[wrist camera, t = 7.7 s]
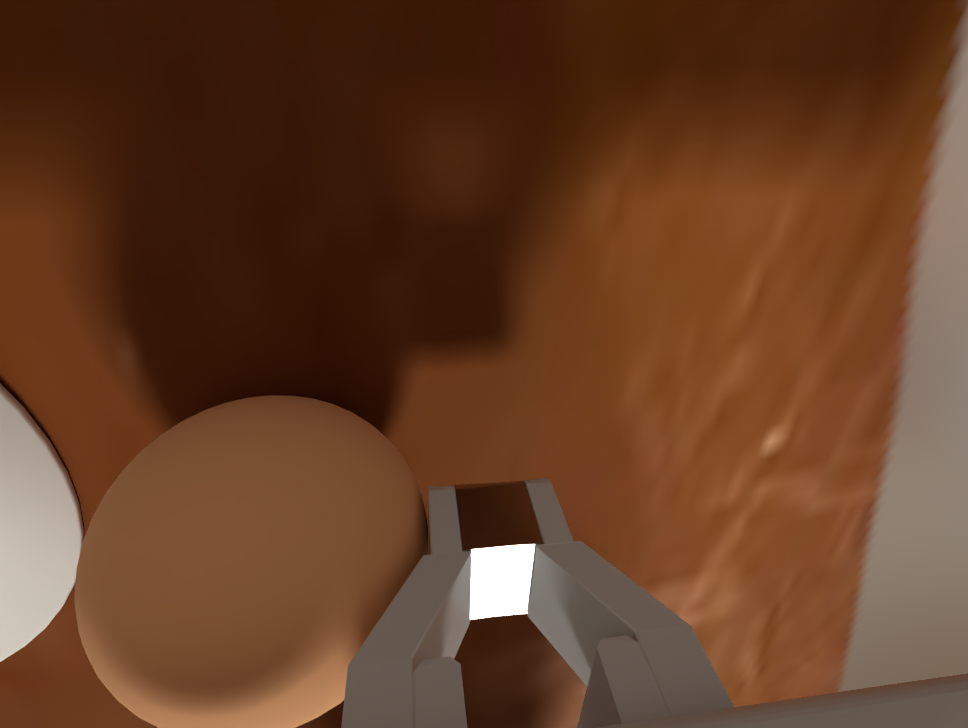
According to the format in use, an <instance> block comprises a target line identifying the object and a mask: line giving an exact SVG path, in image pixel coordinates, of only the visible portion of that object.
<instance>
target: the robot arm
mask: <svg viewBox="0 0 968 728" xmlns="http://www.w3.org/2000/svg"><path fill="white" fill-rule="evenodd" d="M428 518H429V555H423V556H422V558H421V559H420V561H419V562H418V564H417V565H416V567H415V568H414V570H413V571H412V573H411V574H410V575H409V577H408V578H407V580H406V581H405V583H404V584H403V586H402V587H401V589H400V590H399V592H398V593H397V595H396V596H395V597H394V599H393V600H392V602H391V603H390V605H389V606H388V608H387V609H386V611H385V612H384V614H383V615H382V617H381V618H380V619H379V621H378V622H377V624H376V625H375V627H374V628H373V630H372V631H371V633H370V634H369V636H368V637H367V639H366V640H365V641H364V643H363V644H362V646H361V647H360V649H359V650H358V652H357V653H356V655H355V656H354V658H353V659H352V661H351V662H350V663H349V665H348V670H347V679H346V688H345V698H344V707H343V716H342V725H341V728H467V719H466V710H465V701H464V691H463V682H462V672H461V664H460V663H459V662H457V661H456V660H454V658H455V656H456V654H457V651H458V649H459V647H460V644H461V642H462V640H463V638H464V635H465V633H466V631H467V628H468V626H469V624H470V620H474V619H481V618H488V617H495V616H506V615H518V614H528V617H529V618H530V619H531V621H532V622H533V623H534V624H535V625H536V627H537V628H538V629H539V630H540V631H541V633H542V634H543V635H544V636H545V637H546V638H547V640H548V641H549V642H550V643H551V644H552V646H553V647H554V648H555V649H556V650H557V652H558V653H559V654H560V655H561V656H562V657H563V659H564V660H565V661H566V662H567V663H568V665H569V666H570V667H571V668H572V669H573V671H574V672H575V673H576V674H577V675H578V677H579V678H580V679H581V680H582V681H583V682H584V684H585V685H586V686H587V690H586V694H585V698H584V703H583V707H582V711H581V715H580V719H579V723H578V727H577V728H968V673H967V674H960V675H953V676H946V677H939V678H933V679H926V680H919V681H912V682H905V683H898V684H891V685H884V686H878V687H871V688H864V689H857V690H850V691H843V692H836V693H829V694H822V695H816V696H809V697H802V698H795V699H788V700H781V701H774V702H767V703H760V704H754V705H747V706H740V707H734V705H733V703H732V702H731V700H730V698H729V696H728V694H727V692H726V690H725V689H724V687H723V685H722V683H721V681H720V679H719V677H718V676H717V674H716V672H715V670H714V668H713V666H712V664H711V662H710V661H709V659H708V657H707V655H706V653H705V651H704V649H703V648H702V646H701V644H700V642H699V640H698V638H697V636H696V635H695V633H694V631H693V629H692V627H691V626H690V625H689V624H688V623H686V622H685V621H684V620H682V619H681V618H680V617H679V616H677V615H676V614H675V613H673V612H672V611H671V610H670V609H668V608H667V607H666V606H664V605H663V604H662V603H661V602H659V601H658V600H657V599H655V598H654V597H653V596H652V595H650V594H649V593H648V592H646V591H645V590H644V589H642V588H641V587H640V586H639V585H637V584H636V583H635V582H633V581H632V580H631V579H630V578H628V577H627V576H626V575H624V574H623V573H622V572H621V571H619V570H618V569H617V568H615V567H614V566H613V565H612V564H610V563H609V562H608V561H606V560H605V559H604V558H603V557H601V556H600V555H599V554H597V553H596V552H595V551H594V550H592V549H591V548H590V547H588V546H587V545H586V544H584V543H583V542H582V541H575V542H574V541H573V538H572V536H571V533H570V530H569V528H568V525H567V523H566V520H565V517H564V515H563V512H562V510H561V507H560V504H559V502H558V499H557V496H556V494H555V491H554V489H553V486H552V483H551V481H550V480H549V479H548V478H544V479H533V480H523V481H512V482H500V483H485V484H463V485H454V486H432V487H428Z"/></svg>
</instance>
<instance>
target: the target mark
mask: <svg viewBox="0 0 968 728" xmlns="http://www.w3.org/2000/svg"><path fill="white" fill-rule="evenodd" d="M83 540H84V527H83V521H82V516H81V510H80V504H79V501H78V498H77V495H76V493H75V490H74V487H73V485H72V482H71V479H70V477H69V474H68V472H67V470H66V468H65V466H64V465H63V463H62V461H61V459H60V458H59V456H58V454H57V452H56V451H55V449H54V447H53V446H52V444H51V442H50V440H49V439H48V438H47V437H46V435H45V434H44V433H43V431H42V430H41V429H40V427H39V426H38V425H37V424H36V422H35V421H34V420H33V418H32V417H31V416H30V415H29V413H28V412H27V411H26V409H25V408H24V407H23V406H22V405H21V404H20V403H19V402H18V401H17V400H16V399H15V398H14V397H13V396H12V395H11V394H10V393H9V392H8V391H7V390H6V389H5V387H4V386H3V385H2V384H1V383H0V662H1V661H3V660H4V659H6V658H7V657H9V656H10V655H12V654H14V653H15V652H17V651H18V650H20V649H21V648H23V647H24V646H26V645H27V644H28V643H29V642H30V641H31V640H33V639H34V638H35V637H36V636H37V635H38V634H39V633H40V632H42V631H43V630H44V629H45V628H46V627H47V626H48V624H49V623H50V622H51V621H52V619H53V618H54V617H55V615H56V614H57V613H58V612H59V610H60V609H61V608H62V606H63V605H64V603H65V602H66V600H67V598H68V596H69V594H70V592H71V590H72V588H73V586H74V584H75V582H76V570H77V565H78V560H79V556H80V552H81V548H82V543H83Z"/></svg>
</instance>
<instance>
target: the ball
mask: <svg viewBox="0 0 968 728" xmlns="http://www.w3.org/2000/svg"><path fill="white" fill-rule="evenodd" d="M423 555H428V525H427V518H426V513H425V508H424V503H423V499H422V496H421V493H420V490H419V487H418V484H417V482H416V480H415V477H414V475H413V473H412V471H411V470H410V468H409V466H408V464H407V463H406V461H405V460H404V458H403V457H402V456H401V454H400V453H399V451H398V450H397V449H396V448H395V446H394V445H393V444H392V443H391V442H390V441H389V440H388V438H386V437H385V436H384V435H383V434H382V433H381V432H380V431H379V430H377V429H376V428H375V427H374V426H373V425H372V424H370V423H368V422H367V421H365V420H364V419H362V418H360V417H359V416H357V415H356V414H354V413H352V412H350V411H348V410H346V409H343V408H341V407H339V406H336V405H334V404H331V403H327V402H324V401H320V400H317V399H313V398H306V397H299V396H281V395H268V396H259V397H249V398H244V399H240V400H235V401H231V402H227V403H223V404H221V405H218V406H215V407H212V408H209V409H207V410H204V411H202V412H200V413H198V414H196V415H194V416H192V417H190V418H187V419H185V420H183V421H181V422H180V423H178V424H177V425H175V426H174V427H172V428H171V429H169V430H168V431H166V432H164V433H163V434H161V435H160V436H159V437H158V438H156V439H155V440H154V441H153V442H151V443H150V444H149V445H148V446H147V447H145V448H144V449H143V450H142V451H141V452H140V453H139V454H138V455H137V456H136V457H135V458H134V459H133V460H132V461H131V462H130V463H129V464H128V465H127V466H126V467H125V468H124V469H123V470H122V472H121V473H120V474H119V476H118V477H117V478H116V480H115V481H114V482H113V484H112V485H111V487H110V488H109V489H108V491H107V492H106V494H105V495H104V497H103V499H102V501H101V503H100V504H99V506H98V508H97V510H96V511H95V513H94V515H93V517H92V520H91V522H90V525H89V528H88V530H87V533H86V535H85V538H84V540H83V543H82V548H81V552H80V556H79V560H78V565H77V570H76V583H75V609H76V616H77V624H78V630H79V634H80V638H81V641H82V644H83V647H84V650H85V652H86V654H87V656H88V658H89V660H90V662H91V664H92V666H93V668H94V670H95V672H96V674H97V676H98V677H99V679H100V680H101V682H102V683H103V684H104V685H105V686H106V687H107V689H108V690H109V691H110V692H111V693H112V695H113V696H114V697H115V698H116V699H117V700H118V701H119V702H120V703H121V704H122V705H124V706H125V707H126V708H127V709H129V710H130V711H131V712H132V713H134V714H135V715H136V716H138V717H139V718H141V719H143V720H145V721H147V722H149V723H150V724H152V725H154V726H156V727H158V728H296V727H298V726H300V725H302V724H304V723H307V722H309V721H311V720H313V719H315V718H317V717H319V716H321V715H322V714H324V713H326V712H327V711H329V710H330V709H332V708H334V707H335V706H337V705H338V704H340V703H341V702H342V701H344V698H345V688H346V679H347V670H348V665H349V663H350V662H351V661H352V659H353V658H354V656H355V655H356V653H357V652H358V650H359V649H360V647H361V646H362V644H363V643H364V641H365V640H366V639H367V637H368V636H369V634H370V633H371V631H372V630H373V628H374V627H375V625H376V624H377V622H378V621H379V619H380V618H381V617H382V615H383V614H384V612H385V611H386V609H387V608H388V606H389V605H390V603H391V602H392V600H393V599H394V597H395V596H396V595H397V593H398V592H399V590H400V589H401V587H402V586H403V584H404V583H405V581H406V580H407V578H408V577H409V575H410V574H411V573H412V571H413V570H414V568H415V567H416V565H417V564H418V562H419V561H420V559H421V558H422V556H423Z"/></svg>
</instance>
